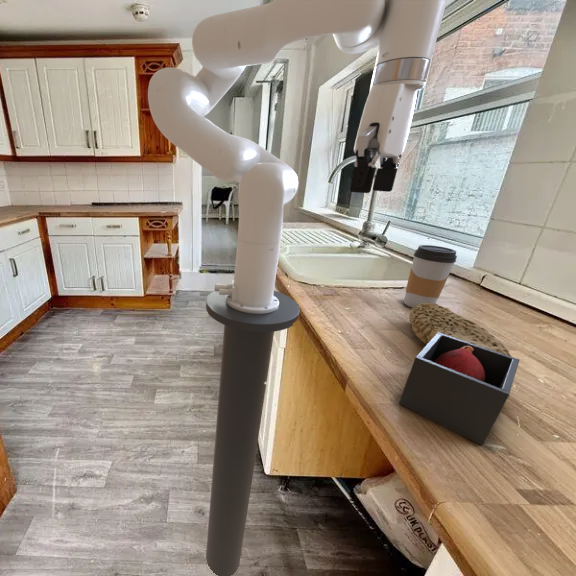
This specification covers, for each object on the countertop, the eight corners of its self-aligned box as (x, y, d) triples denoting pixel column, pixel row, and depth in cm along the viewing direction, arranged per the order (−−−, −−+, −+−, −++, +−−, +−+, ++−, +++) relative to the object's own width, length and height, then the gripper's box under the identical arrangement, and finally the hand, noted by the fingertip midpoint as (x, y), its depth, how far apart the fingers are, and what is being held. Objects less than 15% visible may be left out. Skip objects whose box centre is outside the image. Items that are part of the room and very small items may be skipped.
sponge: (398, 325, 70) (414, 351, 53) (414, 295, 68) (437, 311, 51) (466, 352, 65) (509, 390, 48) (486, 319, 63) (539, 346, 46)
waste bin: (482, 446, 38) (509, 394, 35) (398, 403, 45) (415, 357, 42) (496, 405, 45) (520, 359, 42) (422, 373, 52) (437, 332, 49)
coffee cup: (440, 315, 73) (463, 255, 68) (399, 307, 77) (417, 249, 72) (435, 303, 80) (455, 247, 75) (398, 296, 84) (414, 242, 78)
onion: (444, 395, 42) (463, 341, 42) (416, 383, 48) (433, 336, 48) (486, 411, 42) (505, 356, 42) (453, 397, 48) (470, 349, 48)
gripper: (391, 92, 56) (369, 189, 63) (349, 72, 46) (327, 191, 52) (441, 85, 51) (410, 192, 58) (406, 61, 41) (374, 195, 47)
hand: (371, 191), depth 55 cm, fingers open, 9 cm apart
